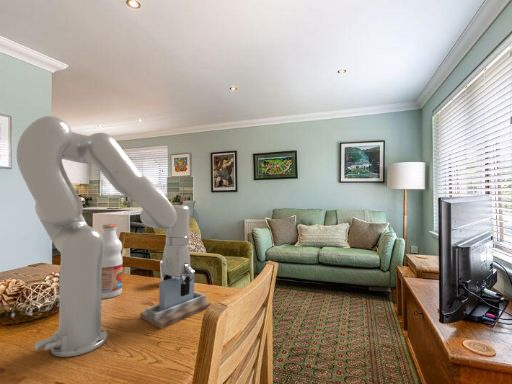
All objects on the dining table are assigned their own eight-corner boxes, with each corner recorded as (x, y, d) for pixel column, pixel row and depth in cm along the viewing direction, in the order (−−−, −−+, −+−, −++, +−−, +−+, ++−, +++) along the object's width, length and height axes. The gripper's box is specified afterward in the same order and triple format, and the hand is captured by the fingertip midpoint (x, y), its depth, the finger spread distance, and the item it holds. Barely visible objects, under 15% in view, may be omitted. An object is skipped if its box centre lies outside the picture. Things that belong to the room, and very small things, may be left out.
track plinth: (161, 328, 80) (161, 317, 80) (140, 317, 88) (140, 306, 88) (211, 306, 96) (211, 297, 96) (189, 298, 104) (189, 289, 104)
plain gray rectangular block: (164, 314, 86) (164, 283, 86) (159, 312, 88) (159, 281, 88) (193, 303, 96) (194, 275, 96) (188, 301, 98) (188, 273, 98)
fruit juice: (94, 293, 109) (95, 224, 109) (120, 288, 114) (120, 223, 115) (96, 301, 101) (97, 226, 101) (124, 295, 107) (124, 225, 107)
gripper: (153, 239, 94) (151, 288, 94) (184, 245, 84) (182, 301, 83) (171, 237, 100) (170, 283, 100) (202, 243, 90) (201, 294, 89)
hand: (175, 291), depth 92 cm, fingers open, 9 cm apart
